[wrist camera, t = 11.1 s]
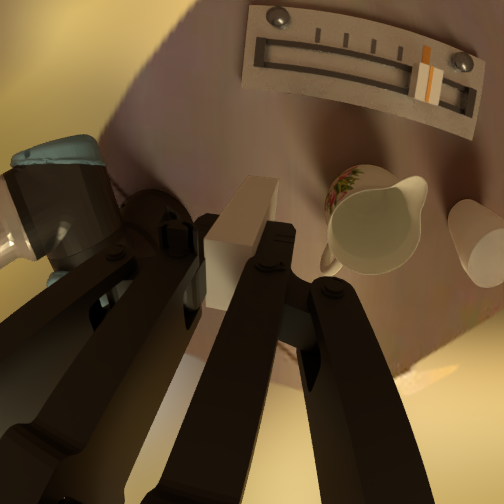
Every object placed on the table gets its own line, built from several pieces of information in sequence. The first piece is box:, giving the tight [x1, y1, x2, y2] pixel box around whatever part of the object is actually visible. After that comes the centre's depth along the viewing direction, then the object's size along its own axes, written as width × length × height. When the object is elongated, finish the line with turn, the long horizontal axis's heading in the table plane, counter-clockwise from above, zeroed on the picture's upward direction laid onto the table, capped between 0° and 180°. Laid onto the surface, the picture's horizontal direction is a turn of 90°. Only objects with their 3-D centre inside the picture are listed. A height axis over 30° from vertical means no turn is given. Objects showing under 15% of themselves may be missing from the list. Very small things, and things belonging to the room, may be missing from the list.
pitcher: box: [320, 164, 428, 276], centre depth 36 cm, size 11×18×14 cm, turn 151°
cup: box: [448, 199, 504, 288], centre depth 34 cm, size 9×9×12 cm
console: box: [241, 5, 485, 141], centre depth 30 cm, size 32×12×4 cm, turn 85°
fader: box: [407, 62, 444, 106], centre depth 28 cm, size 3×4×5 cm, turn 174°
